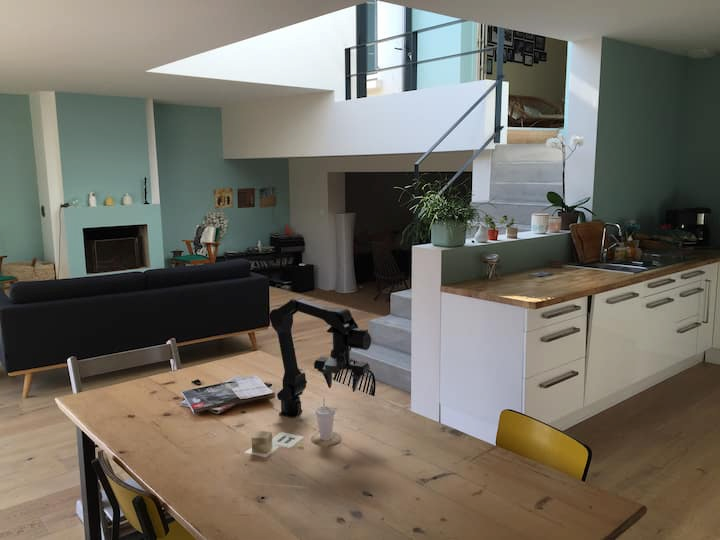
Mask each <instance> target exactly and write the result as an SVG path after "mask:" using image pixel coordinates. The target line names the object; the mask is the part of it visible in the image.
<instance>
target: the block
mask: <svg viewBox="0 0 720 540" xmlns="http://www.w3.org/2000/svg"><path fill="white" fill-rule="evenodd" d="M272 438H273V432H272V431H266V430H265V431H264V430H256V431H255V433H254V434H253V435H252V436H251V447H252V453H266V454H267V453H268V452H269V450H270V449H271V448H272V445H273V444H272Z"/></svg>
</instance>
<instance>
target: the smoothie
mask: <svg viewBox="0 0 720 540" xmlns="http://www.w3.org/2000/svg"><path fill="white" fill-rule="evenodd" d="M322 401H323V402H322V403H323V406H321V407H318V408H316V409H315V415H316V419H317V420H316V421H317V424H318V431H319V432H318V433H320V439H321V440H330V439H331V438H332V432H333V428H334V419H335V418H334V417H335V414H336V411H335V410H336V409H335V408H334V407H331V406H326V398H325V397H323V400H322Z"/></svg>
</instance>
